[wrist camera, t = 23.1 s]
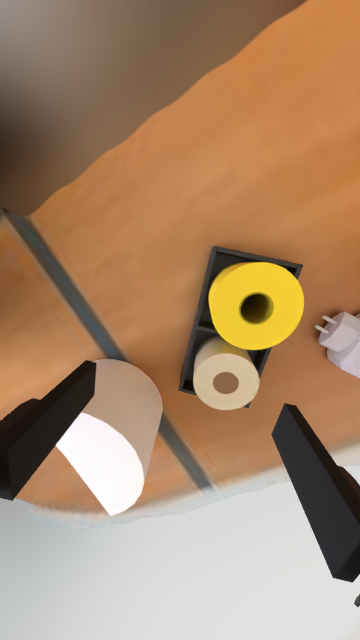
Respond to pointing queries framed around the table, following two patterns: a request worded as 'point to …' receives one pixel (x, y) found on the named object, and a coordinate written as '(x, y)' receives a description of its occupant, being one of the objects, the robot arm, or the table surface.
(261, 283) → the tape roll
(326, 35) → the table surface
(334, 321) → the charger
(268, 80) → the table surface
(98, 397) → the white notched cylinder
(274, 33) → the table surface
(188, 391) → the rack
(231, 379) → the paper roll
